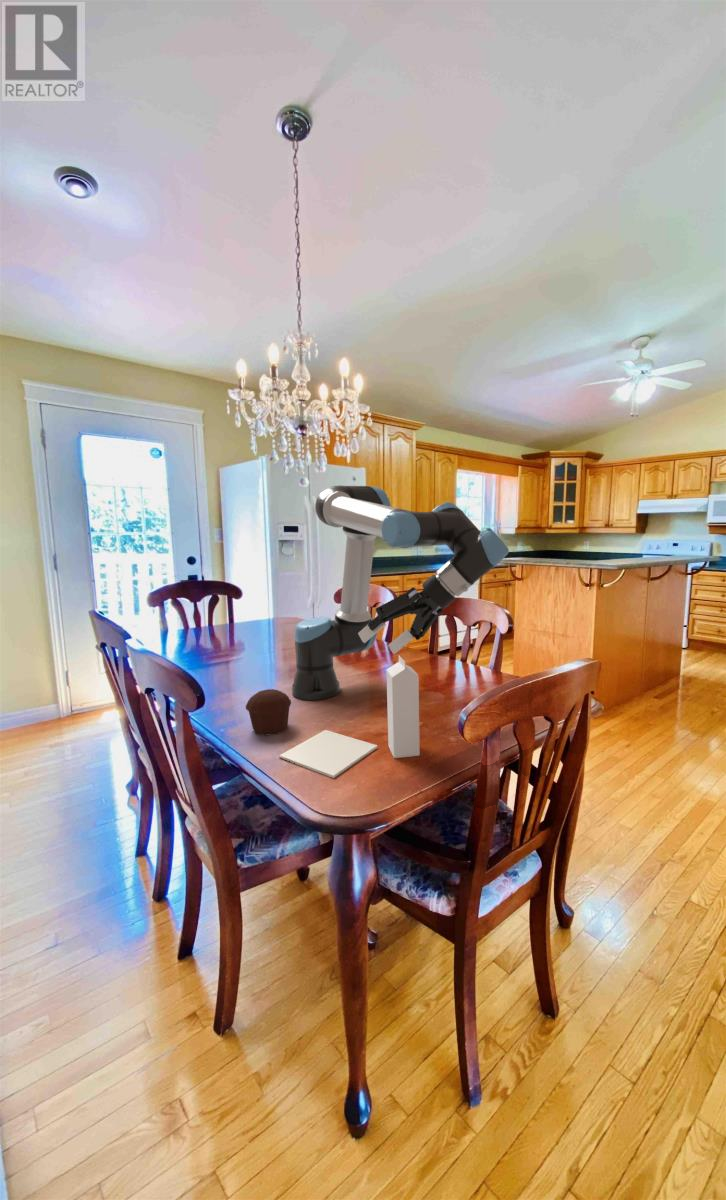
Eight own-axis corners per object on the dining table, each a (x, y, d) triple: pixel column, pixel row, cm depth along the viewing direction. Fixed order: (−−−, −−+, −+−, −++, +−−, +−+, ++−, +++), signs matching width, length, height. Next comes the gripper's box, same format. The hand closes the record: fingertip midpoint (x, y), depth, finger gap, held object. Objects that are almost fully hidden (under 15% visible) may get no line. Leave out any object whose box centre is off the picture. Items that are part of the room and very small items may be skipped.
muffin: (286, 716, 128) (284, 681, 126) (298, 731, 118) (296, 694, 117) (243, 725, 123) (240, 689, 122) (251, 741, 113) (249, 702, 112)
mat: (325, 732, 117) (325, 729, 117) (377, 747, 108) (377, 745, 108) (279, 757, 104) (279, 755, 104) (333, 778, 95) (333, 775, 95)
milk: (412, 744, 109) (411, 654, 106) (419, 756, 103) (419, 661, 100) (387, 746, 108) (386, 655, 105) (393, 758, 102) (391, 662, 99)
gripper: (430, 579, 91) (354, 645, 96) (474, 612, 111) (409, 665, 116) (411, 554, 95) (339, 619, 101) (457, 590, 115) (395, 642, 120)
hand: (376, 644), depth 108 cm, fingers open, 13 cm apart
